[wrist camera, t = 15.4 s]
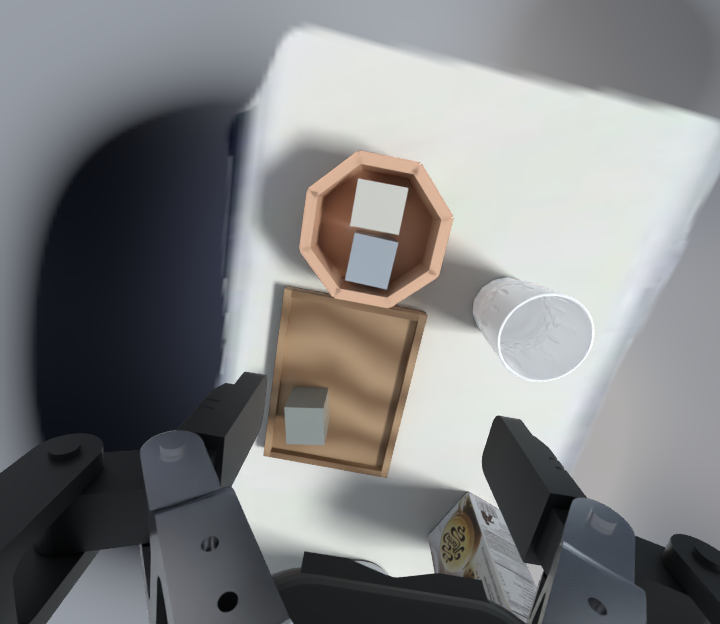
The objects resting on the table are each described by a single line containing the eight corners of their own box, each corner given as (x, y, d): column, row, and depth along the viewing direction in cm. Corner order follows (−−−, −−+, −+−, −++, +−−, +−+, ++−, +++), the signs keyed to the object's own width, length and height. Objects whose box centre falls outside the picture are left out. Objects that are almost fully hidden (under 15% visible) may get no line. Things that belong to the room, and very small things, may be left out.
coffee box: (464, 555, 49) (506, 715, 34) (426, 534, 48) (451, 688, 33) (506, 511, 47) (572, 662, 31) (467, 489, 46) (514, 632, 30)
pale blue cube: (385, 279, 38) (386, 289, 33) (348, 271, 38) (345, 280, 33) (395, 238, 36) (398, 242, 32) (357, 229, 36) (354, 232, 31)
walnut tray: (386, 470, 45) (386, 477, 44) (266, 448, 45) (263, 455, 44) (425, 312, 39) (427, 315, 38) (287, 286, 39) (284, 288, 38)
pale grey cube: (395, 231, 36) (398, 234, 31) (353, 223, 36) (350, 225, 31) (403, 190, 35) (408, 188, 30) (360, 182, 35) (358, 178, 30)
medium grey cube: (329, 421, 43) (324, 445, 39) (295, 421, 43) (286, 444, 39) (328, 388, 42) (323, 408, 38) (293, 387, 42) (284, 407, 38)
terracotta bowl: (420, 300, 39) (428, 316, 33) (304, 278, 39) (293, 290, 33) (450, 177, 35) (465, 171, 30) (322, 152, 35) (313, 141, 29)
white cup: (457, 330, 40) (483, 369, 30) (481, 263, 38) (518, 282, 28) (523, 347, 40) (570, 391, 31) (551, 282, 38) (611, 307, 28)
